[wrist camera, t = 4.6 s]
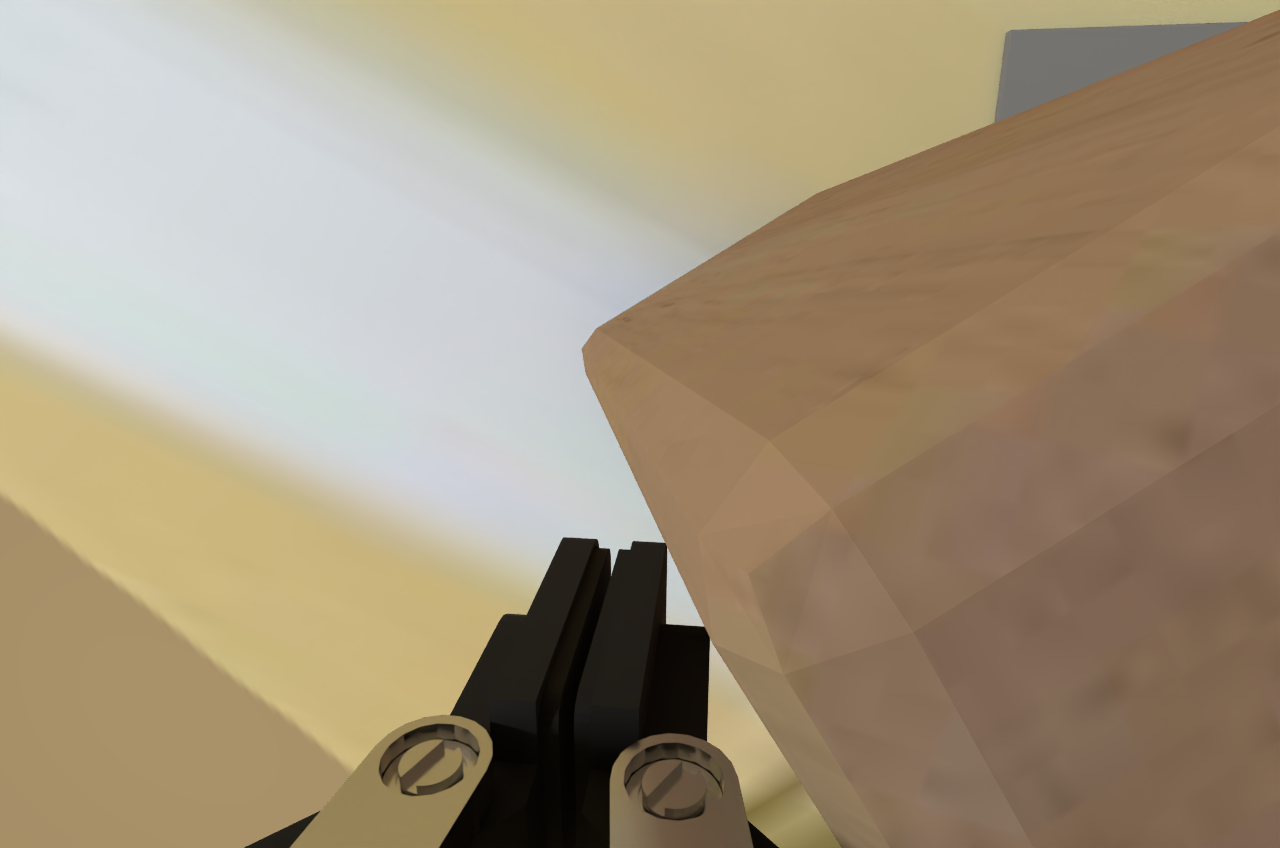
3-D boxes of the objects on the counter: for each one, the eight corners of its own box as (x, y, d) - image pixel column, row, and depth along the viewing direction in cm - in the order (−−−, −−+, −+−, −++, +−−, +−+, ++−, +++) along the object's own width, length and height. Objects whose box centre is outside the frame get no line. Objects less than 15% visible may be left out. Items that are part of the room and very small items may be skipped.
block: (961, 439, 25) (2334, 907, 6) (719, 588, 25) (1299, 1584, 6) (831, 182, 23) (2294, -429, 4) (567, 343, 23) (659, 583, 4)
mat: (1005, 33, 22) (1010, 30, 21) (1632, 11, 20) (1649, 8, 19) (925, 662, 28) (928, 668, 28) (1389, 687, 26) (1399, 695, 26)
